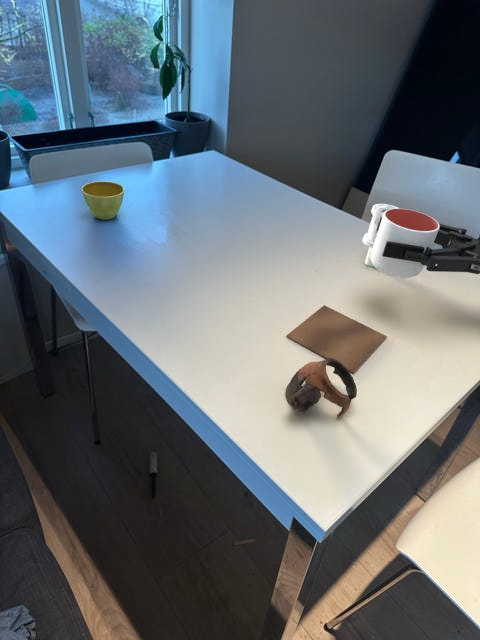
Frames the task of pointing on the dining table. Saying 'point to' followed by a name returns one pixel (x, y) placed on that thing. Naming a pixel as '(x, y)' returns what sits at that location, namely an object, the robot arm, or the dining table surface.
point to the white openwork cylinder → (374, 228)
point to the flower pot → (103, 198)
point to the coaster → (337, 338)
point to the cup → (403, 240)
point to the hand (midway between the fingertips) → (381, 235)
